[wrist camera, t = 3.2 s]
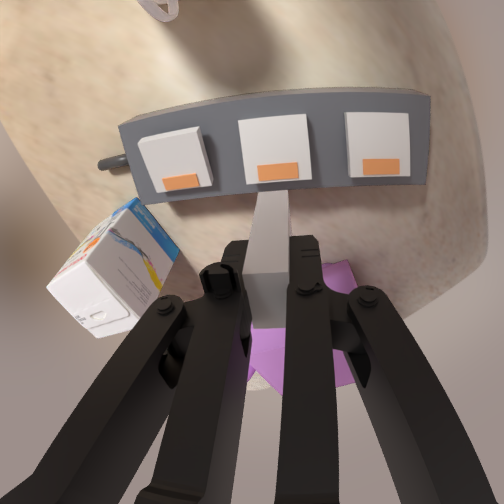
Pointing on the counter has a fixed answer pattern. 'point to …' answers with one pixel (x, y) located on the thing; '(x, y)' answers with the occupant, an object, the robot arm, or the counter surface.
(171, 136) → the rocker
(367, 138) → the rocker
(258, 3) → the counter surface
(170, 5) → the mug
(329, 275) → the teapot
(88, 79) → the counter surface
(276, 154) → the rocker
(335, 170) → the power strip
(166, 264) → the ink box
